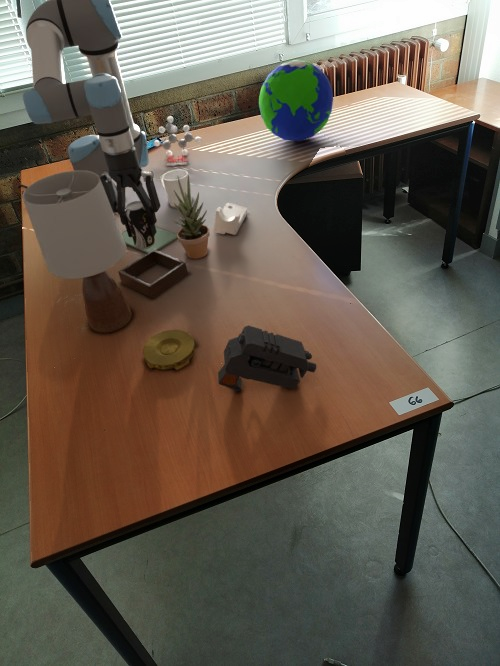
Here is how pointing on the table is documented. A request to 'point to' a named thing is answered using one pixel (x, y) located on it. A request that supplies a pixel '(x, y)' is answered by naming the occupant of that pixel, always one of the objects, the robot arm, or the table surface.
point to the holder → (160, 284)
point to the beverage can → (139, 225)
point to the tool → (264, 359)
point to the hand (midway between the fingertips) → (142, 234)
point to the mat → (160, 240)
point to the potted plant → (192, 225)
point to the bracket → (229, 218)
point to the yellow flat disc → (169, 349)
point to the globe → (296, 100)
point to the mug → (174, 185)
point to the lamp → (81, 241)
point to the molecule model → (173, 139)
